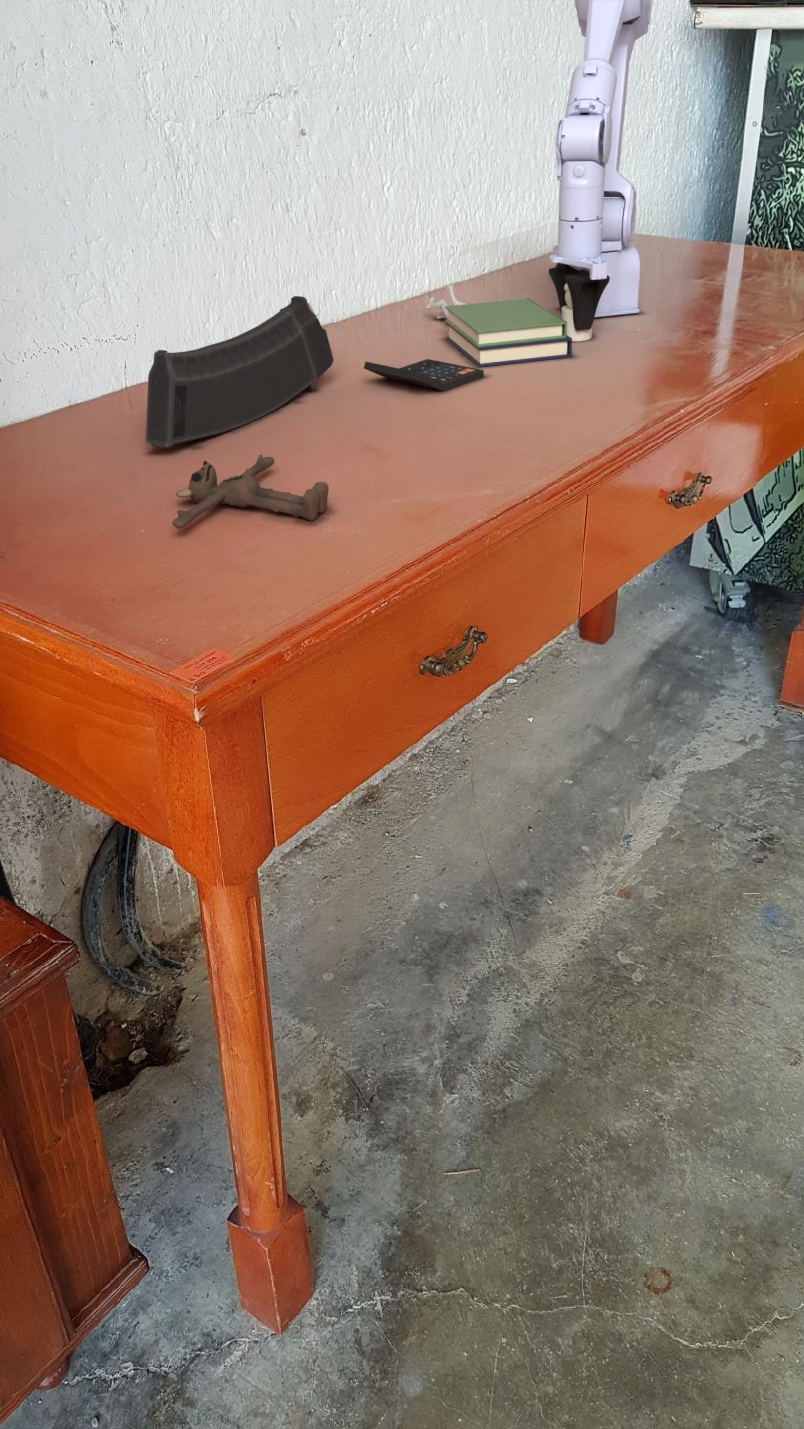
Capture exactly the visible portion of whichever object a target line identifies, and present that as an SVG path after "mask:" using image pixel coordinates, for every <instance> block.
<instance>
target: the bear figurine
mask: <svg viewBox="0 0 804 1429" xmlns="http://www.w3.org/2000/svg"><path fill="white" fill-rule="evenodd" d="M274 464H275V458H274V456H273V457H272V456H265V457H264V456H263V454H259V455H258V457H257V460H256V462H255V463H254V464H253V465H252V466H251V467H250V468H247V469H246V470H245V471H244V472H243V473H241V474H240V475H234V476H230V477H228V478H226V479H223V480H222V481H221V482H220V483H219V484H218V475H217V471H216V468H215V466H213V464H211V463H210V462H208V461H207V460H203V464H202V466H203V467H200V469H199V470H196V471H195V472H193V473H192V474H191V476H190V479H189V482H188V487H186V488H183V489H180V490H178V491H177V492H176V493H175V496H176V497H177V498H190V499H191V500H192V501H193V502H194V503H196V505H194V506H192V507H191V508H189V509H188V510H180V509H178V510H176V513H177V515H178V516H177V517H175V518H174V519H173V520H172V522H171V524H172V526H173V527H174V528H176V529H183V528H186V527H187V526H188V525H189V524H191V522H193V521H194V520H195V519H196V518H198V517H199V516H201V515H202V514H204V513H205V512H207V511H209V510H210V509H212V508H214V507H215V506H216V505H217V506H218V504H220V505H230V506H235V507H239V508H241V509H242V508H243V509H246V508H251V507H252V506H253V507H257V508H262V509H266V510H270V511H273V512H275V513H278V512H279V513H284V514H288V515H291V516H292V517H295V518H299V517H302V518H304V519H306V520H307V521H311V522H313V521H315V520H316V519H317V518H318V514H324V512H325V511H326V510H327V506H328V497H329V484H328V483H327V482H325V481H317V482H315V483H314V485H313V486H312V487H311V488H308V489H307V490H305V492H304V494H303V495H298V494H293V493H291V492H289V491H287V492H284V491H279V490H274V489H273V488H265V487H263V486H260V484H259V482H258V481H257V480H256V478H255V477H256V476H258V475H259V474H261V473H263V472H264V471H266V470H268V469H269V468H270V467H272V466H273V465H274Z"/></svg>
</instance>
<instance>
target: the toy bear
mask: <svg viewBox="0 0 804 1429" xmlns="http://www.w3.org/2000/svg"><path fill="white" fill-rule="evenodd" d="M564 290H565V291H566V294H565V301H566V304H567V305H566V306H563V307H562V313H561V312H560V318H561V319H563V320H565V321H566V322H567V336H569V337H571V338H572V342H585V341H589V340H591V339H592V336H593V326H592V327H591V329H589V330H579V331H577V330H575V327H574V321H573V307H572V300H571V295H570V291H569V288H568V285H567V283H566V284H565V286H564Z"/></svg>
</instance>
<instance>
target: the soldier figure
mask: <svg viewBox="0 0 804 1429" xmlns="http://www.w3.org/2000/svg"><path fill="white" fill-rule="evenodd" d="M448 284H449V283H448ZM447 287H448V290H449V293H448V294H449V298H450V302H451V303H452V306H454V305H464V304H467V303H465V302H462V301H460V300H458V299H457V297H456V295H455V291H454V290H455V288H454V284H452V283H450V284H449V285H447ZM435 301H436V298H435V297H434V296H431V297H430V298H429V301H428V304H427V305H426V307H425V309H426V311H429V310H431V309H433V310H434V309H435V310H438V309H439V310H440V313H438V314H437V315H436V319H437V320H441V319H448V310H447V309H445V306H451V304H450V303H449V302H448V301H447V300H445V299H441V300H439V301H436V302H435Z"/></svg>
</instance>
